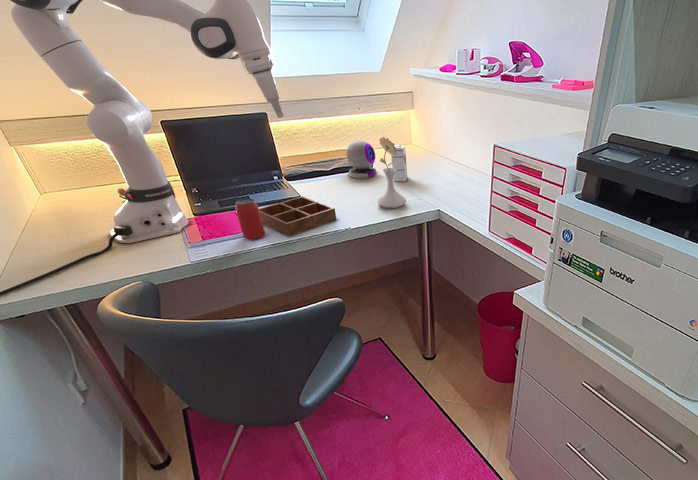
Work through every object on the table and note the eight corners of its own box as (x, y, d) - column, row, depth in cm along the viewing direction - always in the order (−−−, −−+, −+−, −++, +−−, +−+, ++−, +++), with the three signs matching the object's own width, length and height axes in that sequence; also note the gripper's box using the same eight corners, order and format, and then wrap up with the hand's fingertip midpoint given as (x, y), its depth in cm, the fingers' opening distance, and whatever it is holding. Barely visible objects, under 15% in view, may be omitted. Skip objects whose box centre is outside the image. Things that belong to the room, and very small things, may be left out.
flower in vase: (411, 207, 165) (407, 140, 151) (383, 212, 161) (377, 143, 146) (398, 197, 175) (394, 133, 160) (372, 201, 170) (365, 135, 156)
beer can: (257, 241, 137) (247, 205, 130) (239, 239, 138) (228, 203, 131) (269, 233, 142) (260, 198, 136) (252, 231, 143) (242, 197, 137)
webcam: (369, 179, 194) (366, 144, 186) (344, 176, 196) (339, 142, 188) (380, 171, 205) (377, 138, 196) (356, 169, 207) (352, 136, 198)
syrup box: (405, 181, 193) (404, 148, 184) (393, 181, 193) (390, 147, 184) (407, 177, 197) (405, 145, 189) (394, 177, 197) (392, 144, 189)
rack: (289, 236, 141) (286, 224, 138) (257, 222, 150) (254, 209, 148) (336, 220, 153) (334, 208, 151) (304, 207, 163) (302, 196, 160)
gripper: (250, 67, 128) (271, 116, 136) (246, 66, 112) (270, 121, 119) (270, 62, 129) (290, 110, 137) (269, 60, 113) (292, 115, 121)
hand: (281, 116), depth 128 cm, fingers open, 8 cm apart
